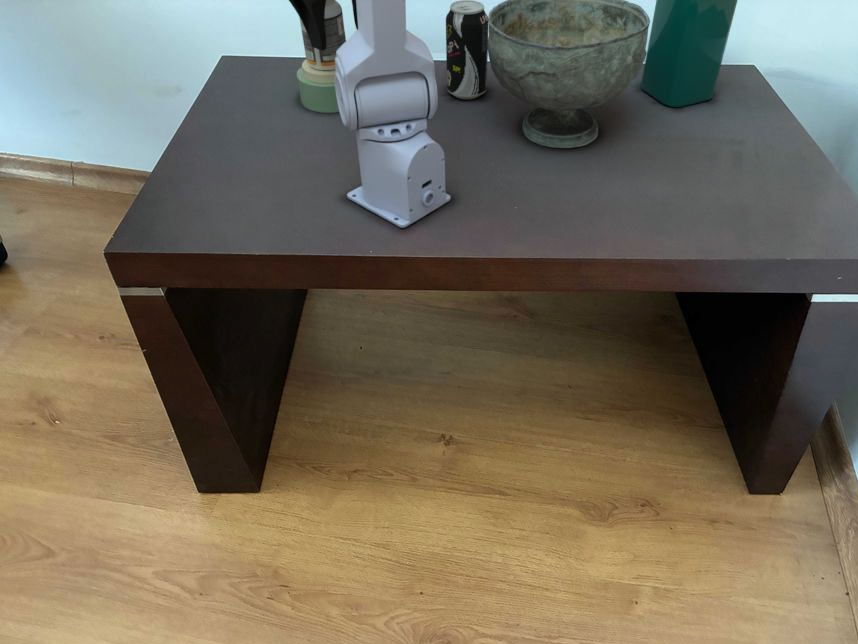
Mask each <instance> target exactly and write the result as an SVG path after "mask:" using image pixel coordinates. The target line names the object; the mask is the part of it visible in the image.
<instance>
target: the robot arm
mask: <svg viewBox="0 0 858 644" xmlns="http://www.w3.org/2000/svg"><path fill="white" fill-rule="evenodd" d="M288 2H289V3H290V4H291V6H292V7H293V9H294V10H295V12H296V13H297V15H298V17H299V20H300V19H301V21H302V23H303V25H304V27H305V29H306V32H307V34H308V37H309V39H310V42H311V45H312V47H314V48H316V49H319V50H321V51H323V50H325V49H326V33H325V24H324V16H325V4H326V0H288ZM406 2H407V1H406V0H351V6H352V12H353V13H352V14H353V20H354V26H355V28H356V31H355V32H354V33H353V34H352V35H351V36H350V37H348V39H346V42H345V43H344V44H343V45H342V46H341V47H340V48H339V49H338V50H337V51H336V56H337V57H336V58H335V70H336V74H335V77H334V81H335V91H336V98H337V103H338V108H339V112H338V113H339V115H340V119H341V122H342V124H343V126H344V127H345V128H346V129H348V130H349V132H355V139H356V146H357V147H356V148H357V155H358V163H359V172H360V181H361V185H360V186H359V187H357V188H355V189H352V190H351V191H349V192H347V194H346V197H347V199H348V200H350V201H351V202H354V203H356V204H357V205H359V206H361V207H363V208H365V209H366V210H368V211H370V212H372V213H374V214H376V215H377V216H379V217H380V218H383V219H384V220H386V221H388V222H390V223H392V224H394V225H395V226H397V227H399V228H400V229H401V228H402V229H405V228H407V227H408V226H410V225H411V224H414V223H415V222H417V221H418V220H420V219H423V218H424V217H425V216H426V215H428V214H431V212H434V211H435V210H437V209H439V208H440V207H441V206H444V205H445V204H446V203H448V202H450V201H451V197H452V196H451V195H450V194H448V193H447V192H446V156H445V152H444V149H443V148H442V146H441V144H439V143H438V142H436V141H435V140H434V139H432V138H431V137H430V136H429V134H428V133H427V132H426V130H427V129H428V121H427V120H431V119H433V118H434V116H435V114H436V112H437V110H438V105H439V93H438V86H437V79H436V73H435V72H436V71H435V61H434V57H433V55H432V53H431V51H430V49H429V48H428V46H427V44H426V43H425V42H424V40H423V39H421V38H420V37H418V36H417V35H415V34H413V33H412V32H410V30H408V29H407V9H406V8H407V7H406V6H407V5H406V4H407V3H406Z"/></svg>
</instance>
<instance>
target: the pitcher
mask: <svg viewBox="0 0 858 644" xmlns="http://www.w3.org/2000/svg"><path fill="white" fill-rule="evenodd" d="M738 2H739V1H738V0H656V1H655V5H654V10H653V17H652V23H651V28H650V29H651V30H650V34H649V40H648V45H647V49H646V57H645V61H644V65H643V66H644V67H643V73H642V78H641V83H640V86H641V89H642V91H644V92H645V93H646V94H648V95H650V96H651V97H652V98H654V99H655V100H656V101H658V102H659V103H661V104H662V105H665V106H667V107H670V108H682V107H685V106H690V105H694V104H698V103H702V102H707V101H709V100H711V99H712V98H713V97H714V95H715V90H716V86H717V82H718V79H719V75H720V71H721V67H722V63H723V59H724V55H725V51H726V47H727V43H728V39H729V36H730V32H731V28H732V24H733V21H734V16H735V12H736V8H737V4H738Z"/></svg>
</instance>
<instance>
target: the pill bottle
mask: <svg viewBox="0 0 858 644" xmlns="http://www.w3.org/2000/svg"><path fill="white" fill-rule="evenodd" d="M299 22H300V29H301V35H302V42H303V48H304V54H305V60H307V63H308V65H309V66H310V67H312V68H314V69H317V70H334V69H335V58H336V57H337V56H336V51H337V50H338V49H339V48H340V47H341V46H342V45H343V44H344V43H345V42H346V41H347V37H346V31H345V22H344V13H343V8H342V6H341V4H340V3H339V2H338V0H326V4H325V16H324V24H325V33H326V49H325V50H323V51H321V50H319V49H316V48H314V47H312V45H311V42H310V39H309V37H308V34H307V32H306V29H305V27H304V25H303V23H302V21H301V19H300V18H299Z"/></svg>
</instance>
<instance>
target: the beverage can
mask: <svg viewBox="0 0 858 644" xmlns="http://www.w3.org/2000/svg"><path fill="white" fill-rule="evenodd" d="M488 16H489V15H488V14H487V13H486V11H485V5H484V3H482V2H480V1H477V0H457V1H454V2H452V3H451V4H450V5H449V11H448V13H447V14H446V16H445V44H446V45H445V51H446V52H445V54H446V57H445V58H446V61H445V62H446V90H447V92H448V93H449V94H451V95H452V96H454V97H455V98H456V99H457V98H458V99H460V100H473V99H474V100H475V99H477V98H478V97H480V96H482V95H483V94H485V93H486V92H487V89H488V59H489V54H488V45H487V43H488V37H489V23H488Z"/></svg>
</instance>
